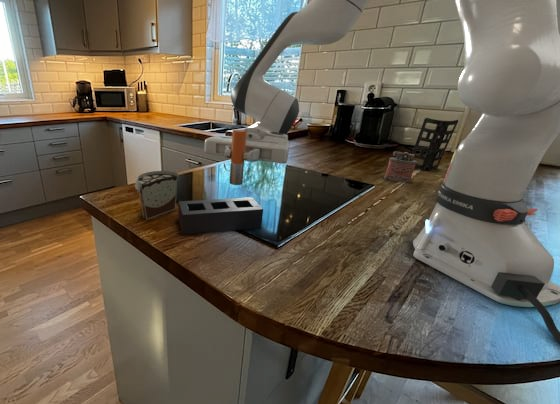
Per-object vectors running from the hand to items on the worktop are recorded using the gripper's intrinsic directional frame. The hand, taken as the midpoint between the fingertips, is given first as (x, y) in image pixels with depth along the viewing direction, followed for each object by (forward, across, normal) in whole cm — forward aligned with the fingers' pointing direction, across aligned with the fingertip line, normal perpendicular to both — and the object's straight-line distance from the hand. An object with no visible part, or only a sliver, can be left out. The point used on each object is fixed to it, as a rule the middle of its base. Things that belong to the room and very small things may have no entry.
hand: (236, 155), depth 65 cm
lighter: (-59, +43, +17) cm, 75 cm away
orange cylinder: (-1, 0, +7) cm, 7 cm away
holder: (-81, +55, +17) cm, 100 cm away
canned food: (-61, +62, +17) cm, 89 cm away
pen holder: (+1, -3, +17) cm, 17 cm away
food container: (+2, -21, +17) cm, 27 cm away
